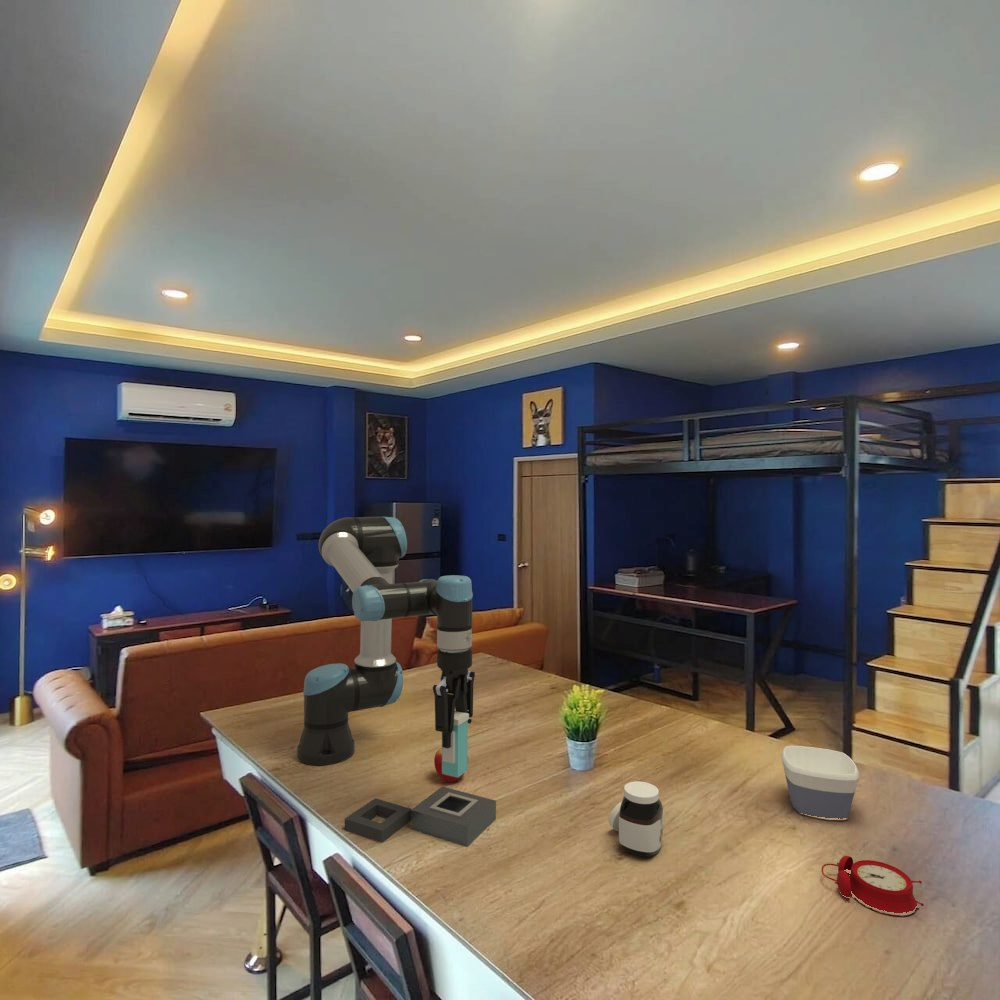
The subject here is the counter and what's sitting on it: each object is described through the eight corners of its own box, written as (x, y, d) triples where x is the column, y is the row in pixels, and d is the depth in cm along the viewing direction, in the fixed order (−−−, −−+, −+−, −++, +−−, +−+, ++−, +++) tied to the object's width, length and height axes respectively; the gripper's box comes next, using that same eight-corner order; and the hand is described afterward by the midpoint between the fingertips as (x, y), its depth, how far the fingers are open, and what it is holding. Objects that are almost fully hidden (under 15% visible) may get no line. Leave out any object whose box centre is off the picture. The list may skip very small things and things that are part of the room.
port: (410, 828, 129) (410, 808, 129) (442, 803, 140) (442, 785, 140) (467, 846, 123) (467, 825, 123) (495, 818, 133) (496, 799, 133)
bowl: (849, 798, 143) (850, 750, 143) (865, 831, 129) (865, 779, 129) (778, 787, 148) (778, 742, 148) (785, 819, 134) (785, 768, 134)
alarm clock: (927, 907, 100) (826, 858, 108) (916, 941, 101) (817, 890, 108) (923, 874, 109) (830, 831, 116) (914, 905, 110) (822, 860, 117)
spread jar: (651, 865, 117) (652, 804, 117) (596, 847, 123) (596, 789, 123) (670, 836, 127) (670, 780, 127) (618, 820, 133) (618, 767, 133)
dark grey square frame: (344, 829, 129) (344, 818, 129) (375, 808, 138) (375, 798, 138) (382, 842, 124) (382, 830, 124) (411, 819, 133) (411, 808, 133)
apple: (473, 775, 154) (473, 735, 154) (457, 789, 147) (457, 748, 147) (445, 769, 158) (445, 730, 158) (428, 783, 150) (428, 742, 150)
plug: (440, 773, 130) (440, 716, 130) (451, 766, 134) (451, 710, 134) (458, 778, 128) (458, 719, 128) (469, 770, 132) (468, 713, 132)
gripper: (447, 659, 122) (448, 776, 122) (489, 642, 137) (489, 746, 137) (417, 655, 126) (417, 769, 125) (460, 638, 141) (460, 740, 140)
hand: (454, 757), depth 131 cm, fingers closed on plug, 4 cm apart
